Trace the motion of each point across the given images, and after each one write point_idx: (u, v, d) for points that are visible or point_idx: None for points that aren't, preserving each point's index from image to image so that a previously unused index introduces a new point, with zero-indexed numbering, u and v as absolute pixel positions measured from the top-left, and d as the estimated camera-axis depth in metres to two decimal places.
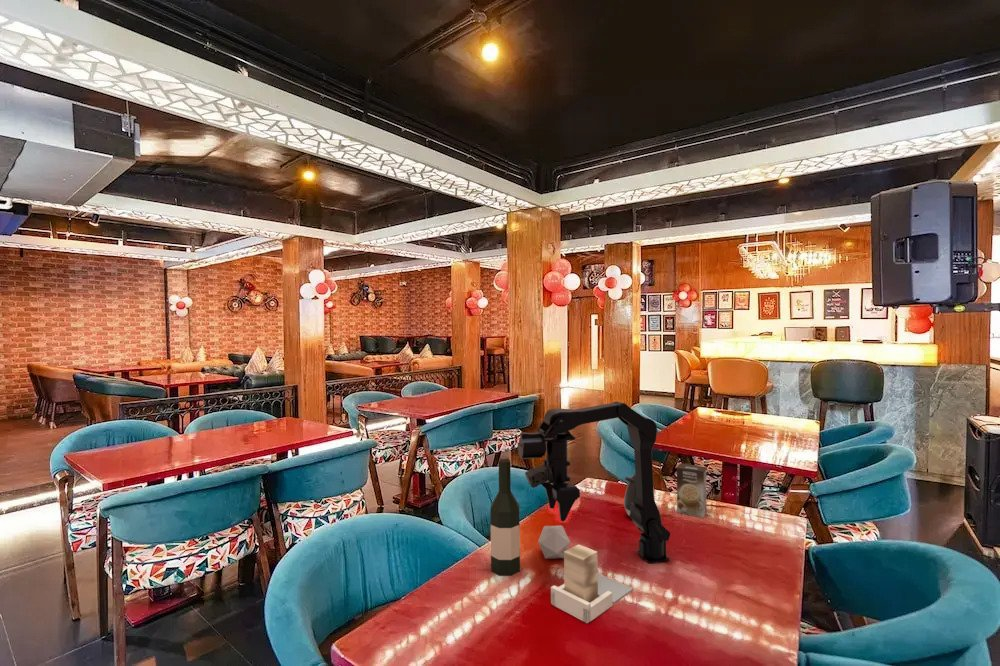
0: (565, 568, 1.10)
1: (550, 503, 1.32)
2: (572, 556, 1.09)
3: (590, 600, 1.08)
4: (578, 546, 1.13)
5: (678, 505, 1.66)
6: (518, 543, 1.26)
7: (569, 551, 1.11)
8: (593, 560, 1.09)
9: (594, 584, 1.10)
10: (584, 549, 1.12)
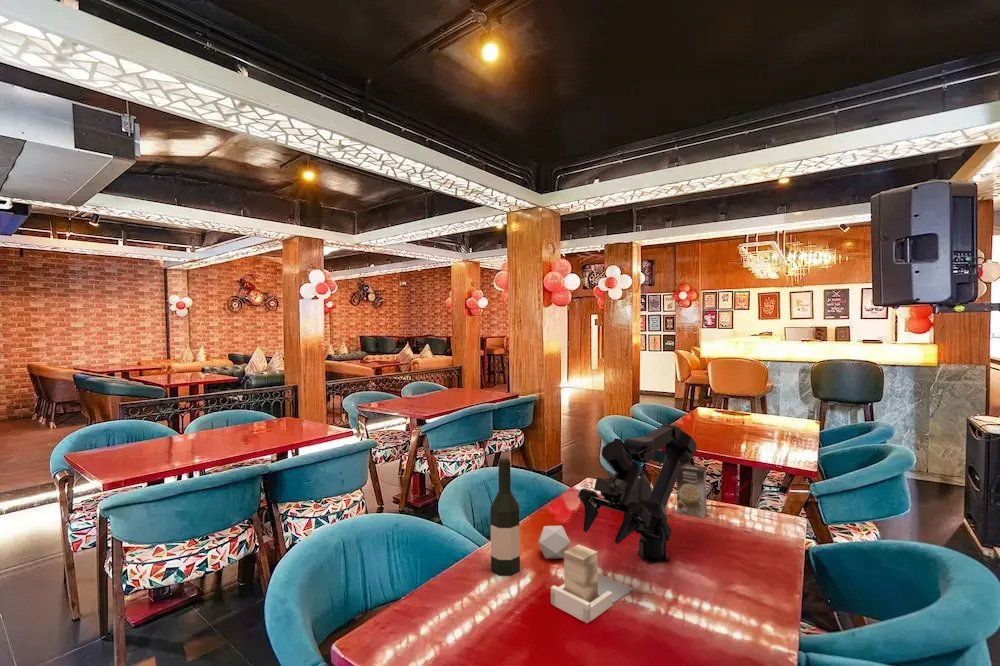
0: (565, 568, 1.10)
1: (586, 525, 1.20)
2: (572, 556, 1.09)
3: (590, 600, 1.08)
4: (578, 546, 1.13)
5: (678, 505, 1.66)
6: (518, 543, 1.26)
7: (569, 551, 1.11)
8: (593, 560, 1.09)
9: (594, 584, 1.10)
10: (584, 549, 1.12)
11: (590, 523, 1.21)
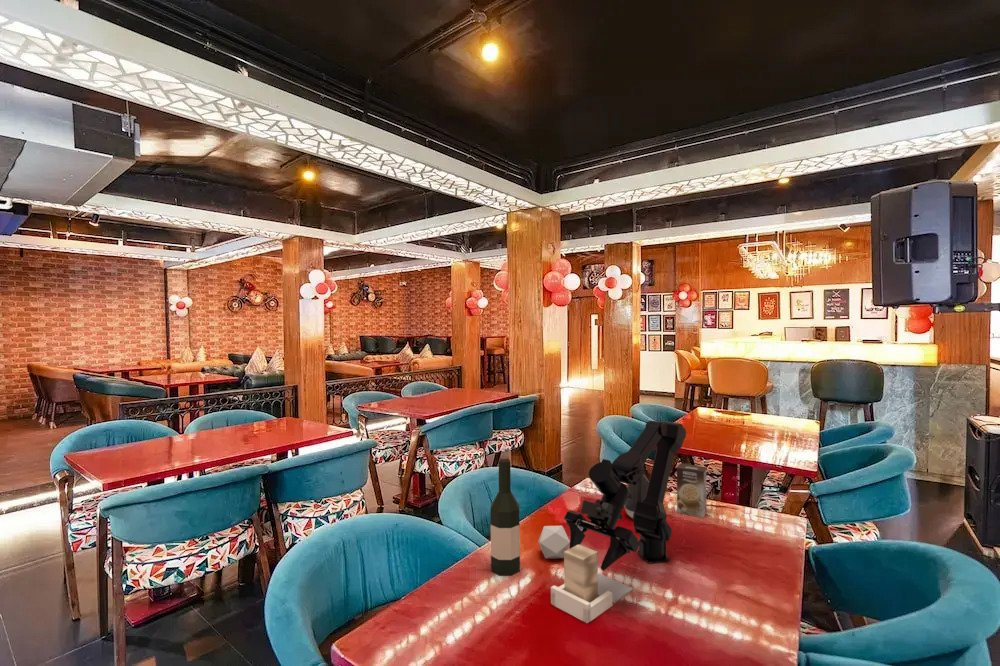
0: (565, 568, 1.10)
1: None
2: (572, 556, 1.09)
3: (590, 600, 1.08)
4: (578, 546, 1.13)
5: (678, 505, 1.66)
6: (518, 543, 1.26)
7: (569, 551, 1.11)
8: (593, 560, 1.09)
9: (594, 584, 1.10)
10: (584, 549, 1.12)
11: None
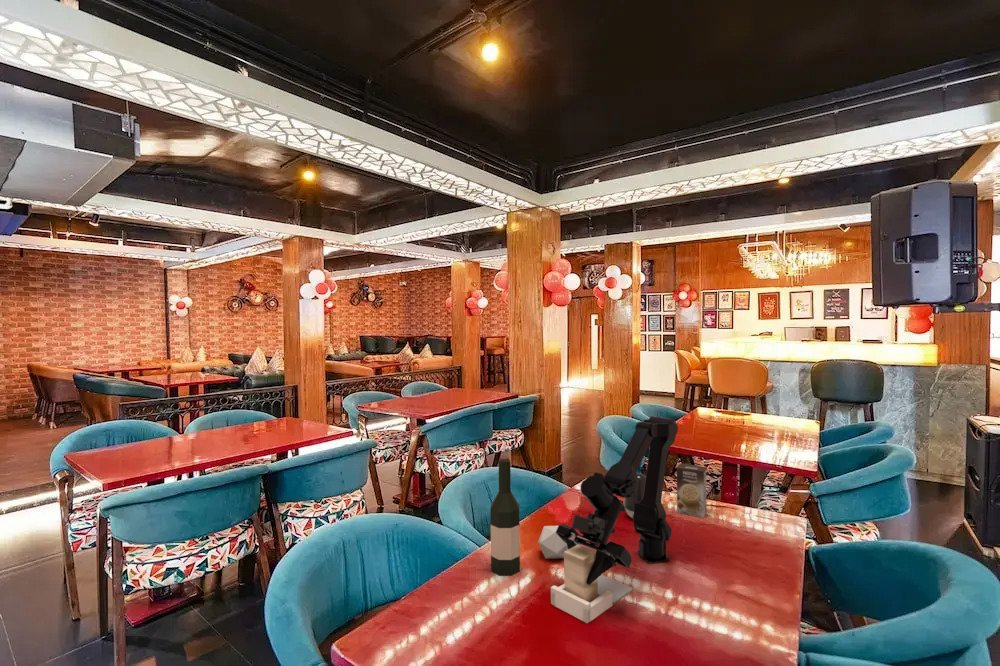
0: (565, 568, 1.10)
1: None
2: (572, 556, 1.09)
3: (590, 600, 1.08)
4: (578, 546, 1.13)
5: (678, 505, 1.66)
6: (518, 543, 1.26)
7: (569, 551, 1.11)
8: (593, 560, 1.09)
9: (594, 584, 1.10)
10: (584, 549, 1.12)
11: None
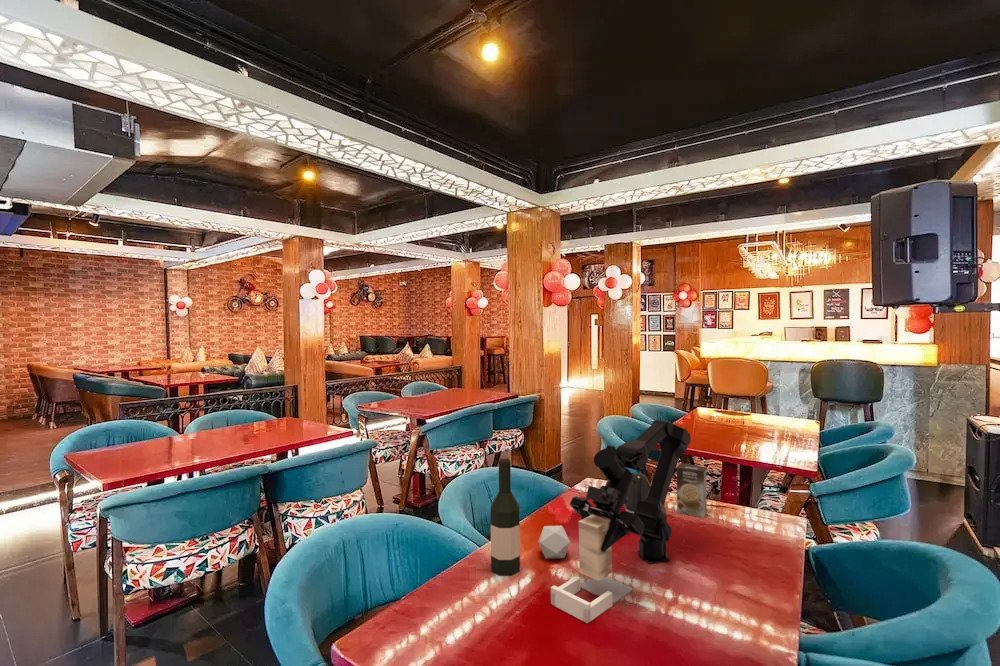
0: (580, 537, 1.14)
1: None
2: (587, 525, 1.13)
3: (604, 567, 1.12)
4: (592, 516, 1.17)
5: (678, 505, 1.66)
6: (518, 543, 1.26)
7: (583, 520, 1.15)
8: (607, 528, 1.13)
9: (608, 552, 1.14)
10: (597, 519, 1.16)
11: None
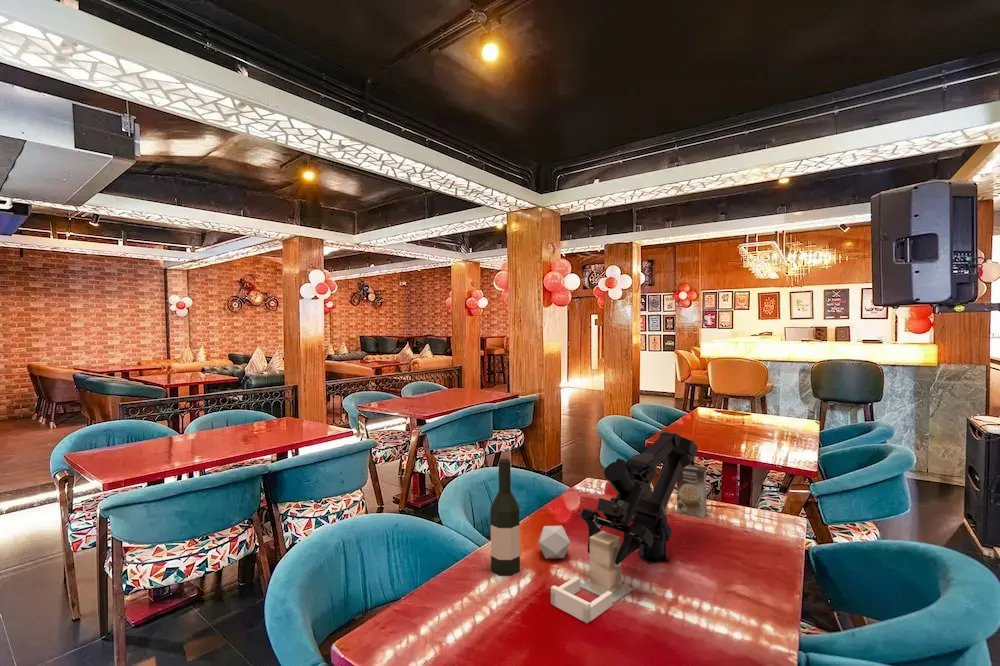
0: (590, 552, 1.17)
1: None
2: (598, 541, 1.16)
3: (614, 582, 1.15)
4: (602, 532, 1.20)
5: (678, 505, 1.66)
6: (518, 543, 1.26)
7: (594, 536, 1.18)
8: (617, 545, 1.16)
9: (618, 567, 1.16)
10: (608, 535, 1.19)
11: None
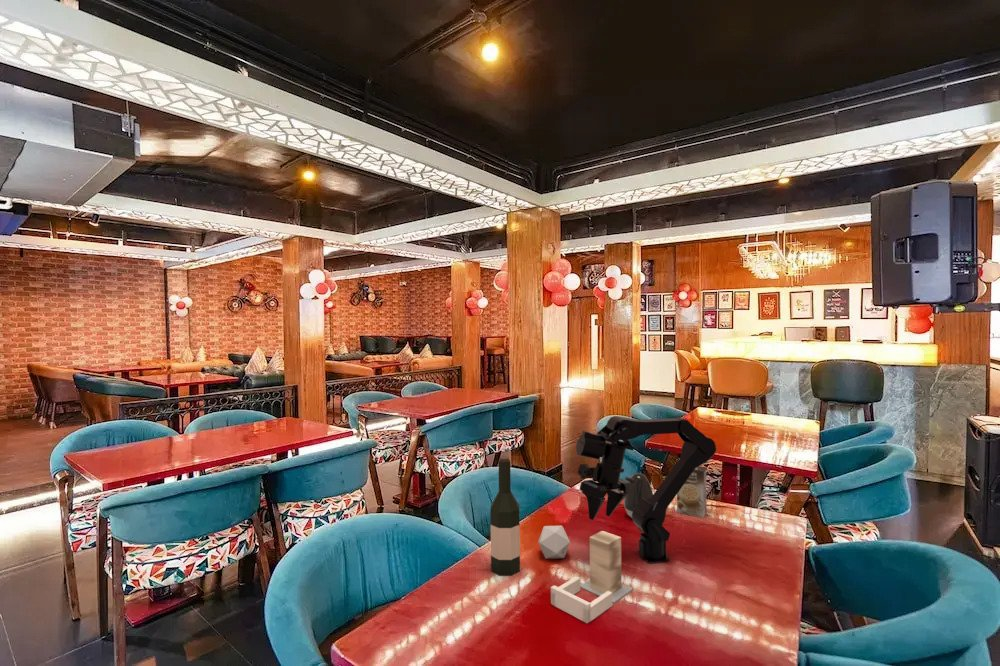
0: (590, 552, 1.17)
1: (607, 510, 1.35)
2: (598, 541, 1.16)
3: (614, 582, 1.15)
4: (602, 532, 1.20)
5: (678, 505, 1.66)
6: (518, 543, 1.26)
7: (594, 536, 1.18)
8: (617, 545, 1.16)
9: (618, 567, 1.16)
10: (608, 535, 1.19)
11: (612, 507, 1.34)
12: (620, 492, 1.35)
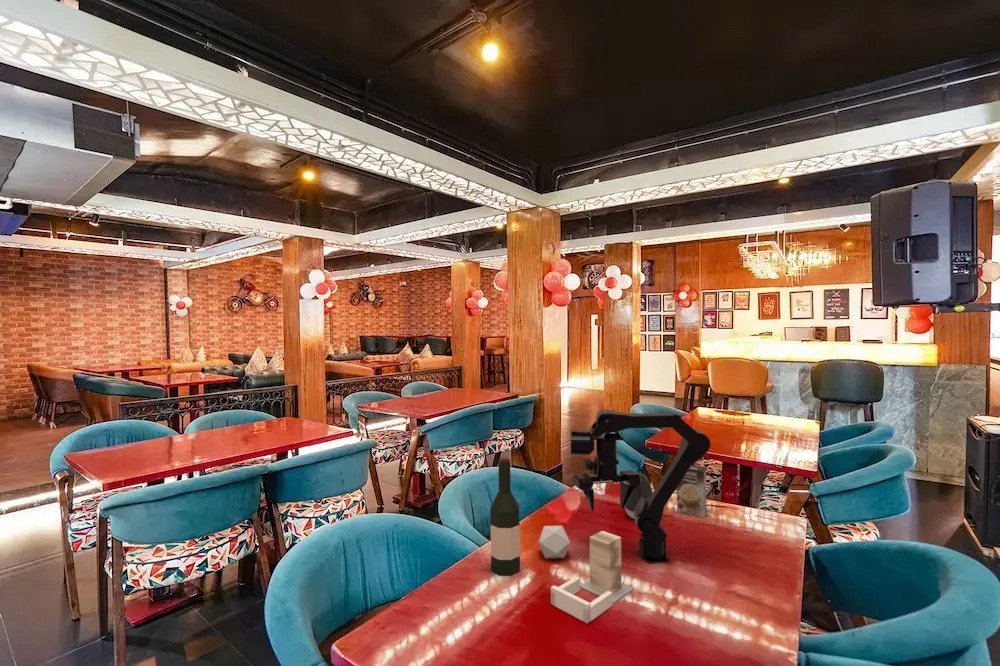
0: (590, 552, 1.17)
1: (621, 502, 1.36)
2: (598, 541, 1.16)
3: (614, 582, 1.15)
4: (602, 532, 1.20)
5: (678, 505, 1.66)
6: (518, 543, 1.26)
7: (594, 536, 1.18)
8: (617, 545, 1.16)
9: (618, 567, 1.16)
10: (608, 535, 1.19)
11: (622, 499, 1.35)
12: (628, 484, 1.35)
